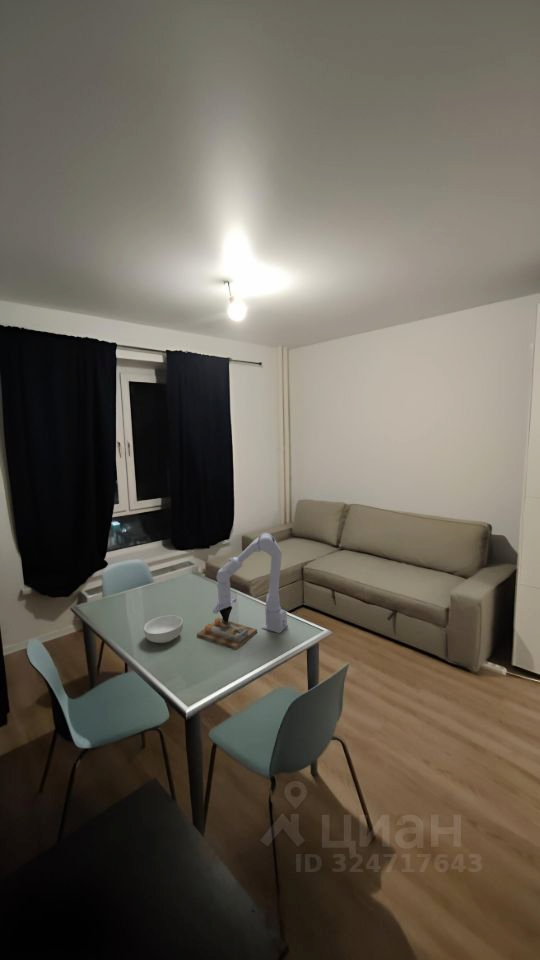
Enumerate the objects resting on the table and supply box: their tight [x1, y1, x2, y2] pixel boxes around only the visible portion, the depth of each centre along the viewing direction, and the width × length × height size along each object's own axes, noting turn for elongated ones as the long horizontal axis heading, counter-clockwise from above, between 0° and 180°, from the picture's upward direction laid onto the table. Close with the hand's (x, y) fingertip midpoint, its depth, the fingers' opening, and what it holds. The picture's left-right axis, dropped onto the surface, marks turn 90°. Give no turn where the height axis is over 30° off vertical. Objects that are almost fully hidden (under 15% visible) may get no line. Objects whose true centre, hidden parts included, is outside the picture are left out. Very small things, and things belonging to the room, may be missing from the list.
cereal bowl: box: [143, 614, 184, 644], centre depth 171 cm, size 17×17×7 cm
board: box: [196, 620, 258, 651], centre depth 173 cm, size 22×16×2 cm
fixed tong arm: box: [204, 623, 248, 643], centre depth 170 cm, size 19×7×3 cm, turn 58°
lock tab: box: [226, 627, 237, 634], centre depth 166 cm, size 3×4×1 cm
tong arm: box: [214, 616, 242, 634], centre depth 173 cm, size 18×3×3 cm, turn 44°
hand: (225, 621), depth 179 cm, fingers closed
